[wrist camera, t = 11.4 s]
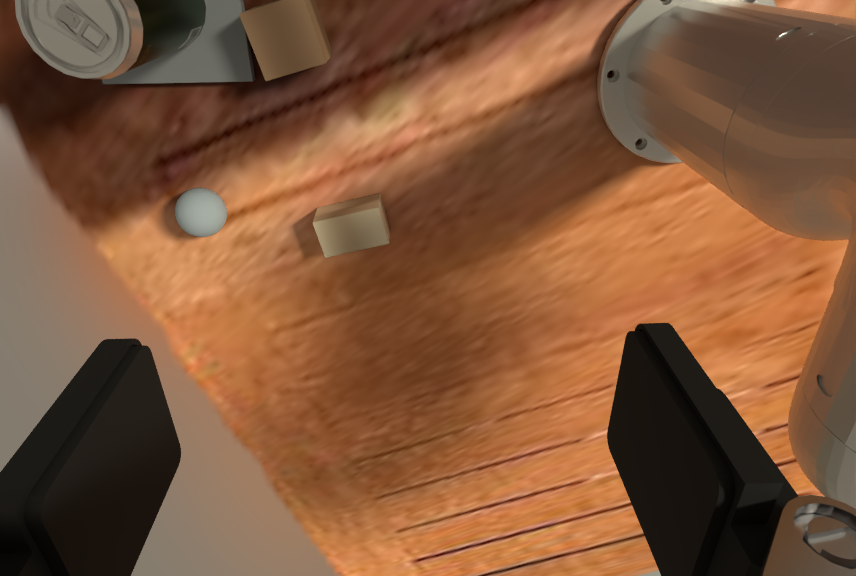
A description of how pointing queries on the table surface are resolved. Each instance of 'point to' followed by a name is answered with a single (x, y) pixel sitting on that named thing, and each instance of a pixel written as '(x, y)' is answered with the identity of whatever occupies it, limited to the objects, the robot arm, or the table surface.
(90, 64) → the beer can
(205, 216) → the grey ball
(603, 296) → the table surface
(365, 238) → the beech block
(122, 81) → the coaster
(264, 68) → the tan cube
